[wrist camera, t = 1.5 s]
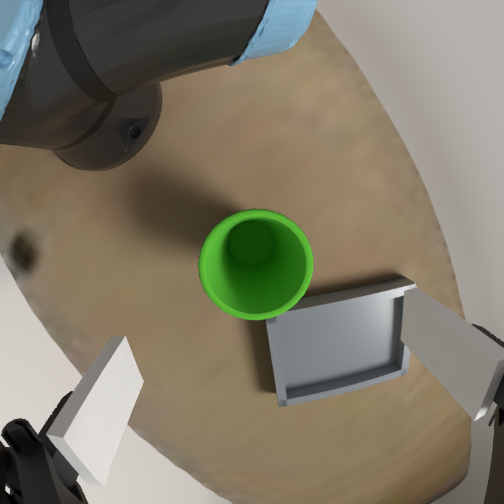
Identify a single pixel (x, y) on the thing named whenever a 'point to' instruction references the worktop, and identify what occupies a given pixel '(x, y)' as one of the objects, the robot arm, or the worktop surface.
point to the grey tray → (339, 342)
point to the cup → (255, 264)
